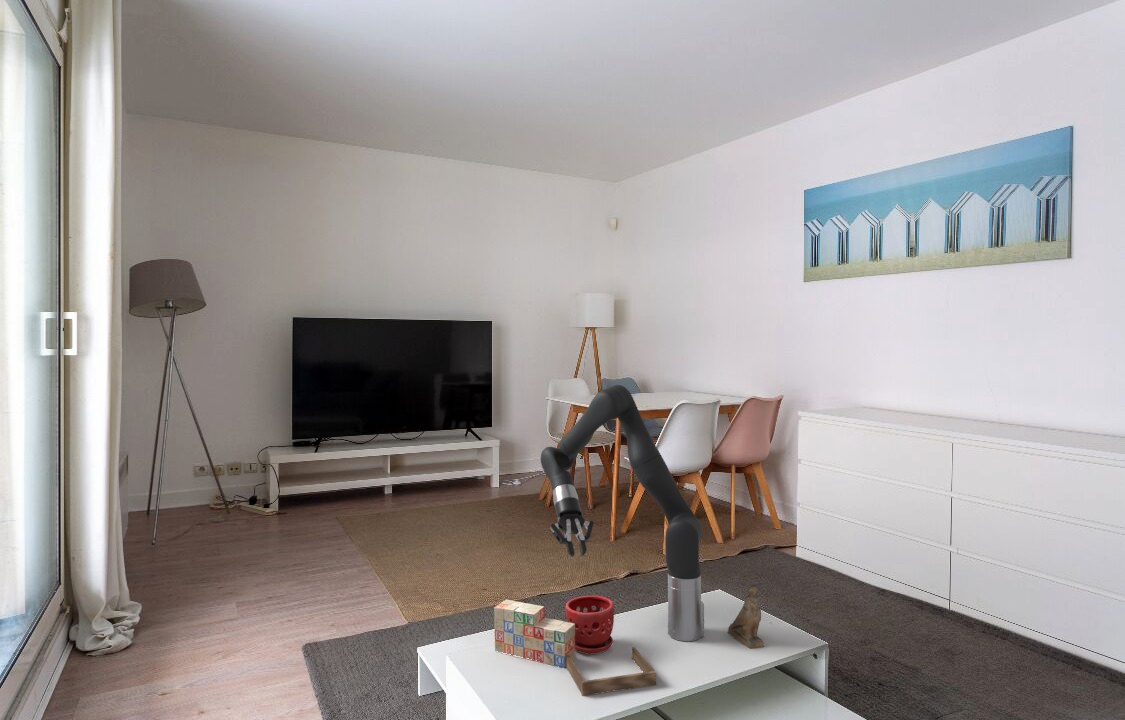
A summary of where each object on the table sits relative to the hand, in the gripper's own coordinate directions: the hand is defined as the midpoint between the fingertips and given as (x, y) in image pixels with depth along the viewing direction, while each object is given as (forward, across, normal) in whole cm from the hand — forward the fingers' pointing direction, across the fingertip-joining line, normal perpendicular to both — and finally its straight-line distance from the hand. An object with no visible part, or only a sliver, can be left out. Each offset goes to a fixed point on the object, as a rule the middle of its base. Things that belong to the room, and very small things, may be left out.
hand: (578, 554), depth 190 cm
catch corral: (+35, 0, -4) cm, 35 cm away
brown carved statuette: (+28, +43, +3) cm, 52 cm away
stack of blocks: (+24, -16, +8) cm, 30 cm away
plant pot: (+23, 0, +8) cm, 25 cm away
